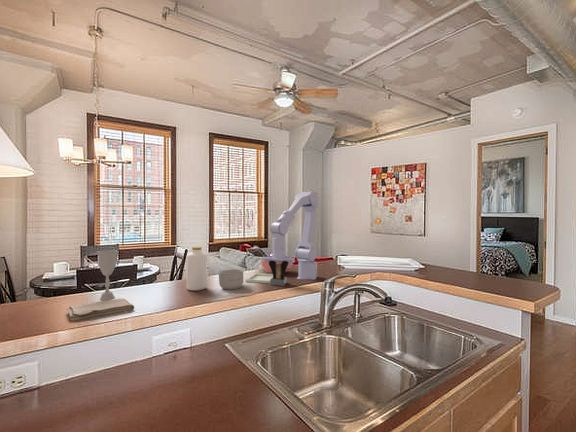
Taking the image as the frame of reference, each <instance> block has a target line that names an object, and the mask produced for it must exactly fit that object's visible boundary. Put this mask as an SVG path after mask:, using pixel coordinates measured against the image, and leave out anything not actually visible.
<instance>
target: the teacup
mask: <svg viewBox="0 0 576 432" xmlns="http://www.w3.org/2000/svg"><path fill="white" fill-rule="evenodd" d="M217 273H218V284H219V287H221V288H222V289H223V290H227V291H228V290H231V291H232V290H239V289H240V288H241V287H242V286H243V285H244V270H243V268H231V269H223V270H220V271H218V272H217Z"/></svg>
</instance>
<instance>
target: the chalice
mask: <svg viewBox="0 0 576 432" xmlns="http://www.w3.org/2000/svg"><path fill="white" fill-rule="evenodd" d="M117 253H118V250H116V249H113V250H112V249H108V250H99V251H96V254H97V258H98V260H97V261H98V262H97V263H98V264H97V265H98V268H99V270H100V272H101V273H102V275H103V276H105V280H104V281H105V285H104V287H105V291H104V292H102V293H101V295H100V297H99V300H100V301H105V300H114V299H116V297H115V296H114V292H113V291H111V290H110V289H109V288H110V286H111V284H110V281H111V280H110V278H109V277H110V276H111V275H112V274H113V272H114V270H115V269H116V265H117Z"/></svg>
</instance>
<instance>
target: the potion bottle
mask: <svg viewBox="0 0 576 432" xmlns="http://www.w3.org/2000/svg"><path fill="white" fill-rule="evenodd" d="M207 262H208V261H207V253H205V252H203V249H202V246H193V247H191V251H190V252H189V253H187V255H186V289H187V290H188V291H192V292H194V291H195V292H196V291H197V292H198V291H202V290H205V289H206V288H207Z"/></svg>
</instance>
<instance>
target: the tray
mask: <svg viewBox="0 0 576 432" xmlns="http://www.w3.org/2000/svg"><path fill="white" fill-rule="evenodd" d="M271 278H273V274H270V273H260V272H258V273H257V272H255V273H253V274H252V275H250V276H249V277H247V278H245V280H244V281H245V283H253V284H254V283H256V284H257V283H258V284H270V279H271Z"/></svg>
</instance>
